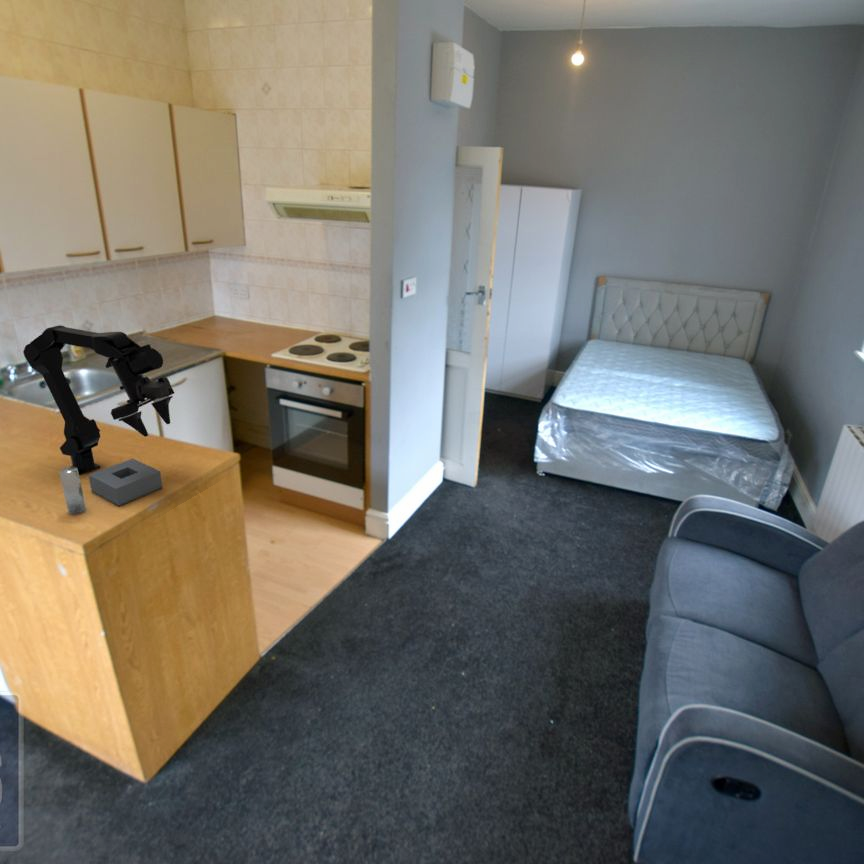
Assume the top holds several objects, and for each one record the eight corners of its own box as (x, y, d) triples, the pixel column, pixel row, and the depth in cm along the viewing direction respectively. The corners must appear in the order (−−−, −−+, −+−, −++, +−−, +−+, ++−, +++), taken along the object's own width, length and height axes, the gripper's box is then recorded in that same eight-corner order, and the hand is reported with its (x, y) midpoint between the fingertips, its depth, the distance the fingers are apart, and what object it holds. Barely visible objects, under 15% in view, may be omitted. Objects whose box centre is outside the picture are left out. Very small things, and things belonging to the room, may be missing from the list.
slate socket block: (91, 492, 161) (88, 474, 159) (135, 475, 171) (132, 458, 169) (119, 506, 155) (115, 488, 152) (162, 488, 165) (160, 471, 163)
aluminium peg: (65, 511, 151) (56, 470, 146) (80, 505, 154) (72, 465, 150) (73, 516, 149) (64, 475, 145) (89, 509, 152) (80, 469, 148)
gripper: (128, 380, 145) (157, 436, 149) (176, 361, 162) (200, 411, 166) (97, 391, 149) (125, 445, 153) (146, 371, 165) (171, 420, 170)
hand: (158, 429), depth 161 cm, fingers open, 9 cm apart
